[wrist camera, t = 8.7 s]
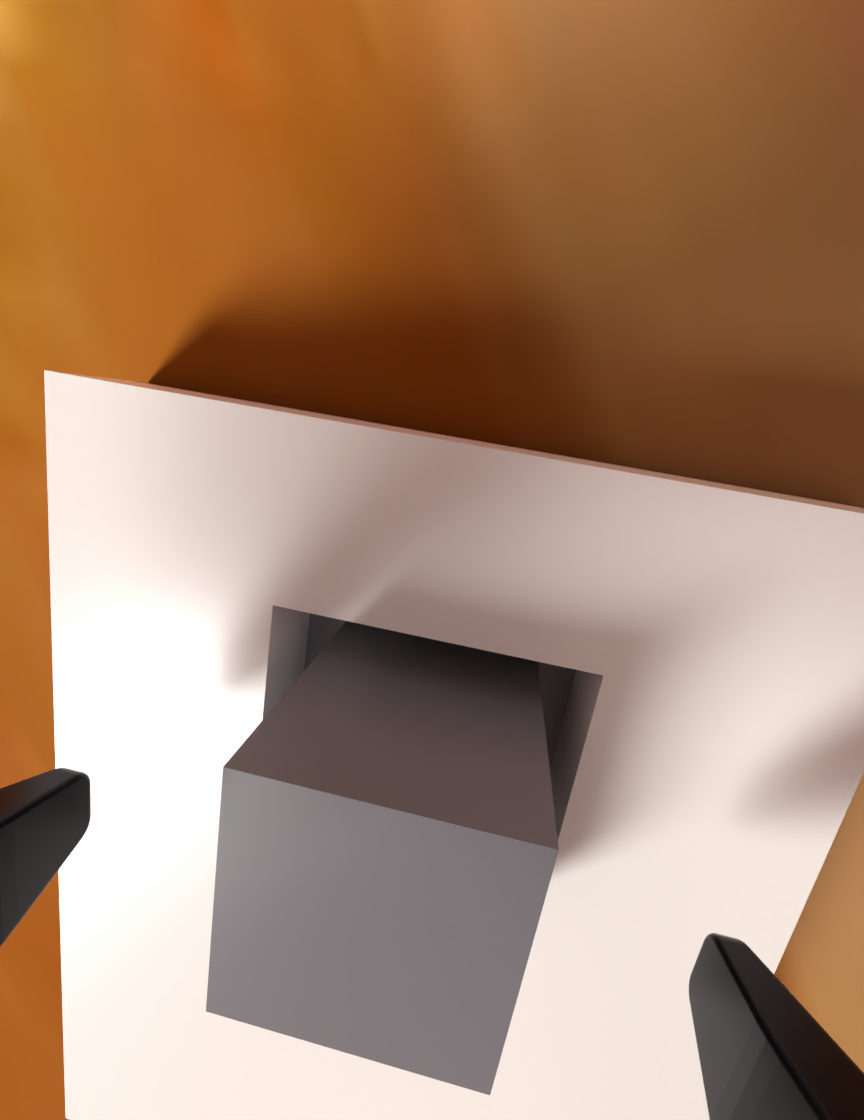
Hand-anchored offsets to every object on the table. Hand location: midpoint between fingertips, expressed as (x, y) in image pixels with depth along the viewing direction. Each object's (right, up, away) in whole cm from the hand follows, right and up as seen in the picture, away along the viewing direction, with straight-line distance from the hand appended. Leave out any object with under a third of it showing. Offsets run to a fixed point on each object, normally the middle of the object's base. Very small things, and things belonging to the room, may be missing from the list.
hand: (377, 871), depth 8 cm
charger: (+1, +1, +4) cm, 4 cm away
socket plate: (0, -2, +5) cm, 6 cm away
